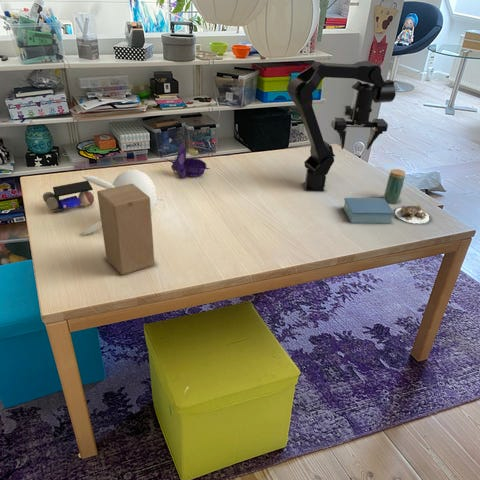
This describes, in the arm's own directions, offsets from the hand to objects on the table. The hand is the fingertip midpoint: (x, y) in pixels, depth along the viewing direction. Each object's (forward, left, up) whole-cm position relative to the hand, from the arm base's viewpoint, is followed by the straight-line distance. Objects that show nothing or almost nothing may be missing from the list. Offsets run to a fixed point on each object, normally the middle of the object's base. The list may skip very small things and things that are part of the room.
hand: (354, 149), depth 179 cm
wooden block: (-75, -56, -13) cm, 94 cm away
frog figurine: (+15, -26, -13) cm, 33 cm away
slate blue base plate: (0, -26, -13) cm, 29 cm away
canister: (+12, -14, -13) cm, 23 cm away
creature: (-60, +6, -13) cm, 62 cm away
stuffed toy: (-79, -35, -13) cm, 87 cm away
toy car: (-97, -23, -13) cm, 101 cm away
